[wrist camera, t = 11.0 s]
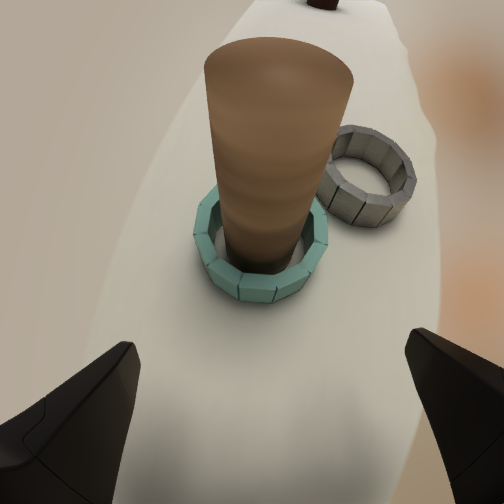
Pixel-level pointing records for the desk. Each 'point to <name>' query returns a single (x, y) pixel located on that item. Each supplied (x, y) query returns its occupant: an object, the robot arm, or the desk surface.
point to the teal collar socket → (257, 284)
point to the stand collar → (354, 199)
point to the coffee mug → (323, 4)
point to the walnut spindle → (271, 141)
